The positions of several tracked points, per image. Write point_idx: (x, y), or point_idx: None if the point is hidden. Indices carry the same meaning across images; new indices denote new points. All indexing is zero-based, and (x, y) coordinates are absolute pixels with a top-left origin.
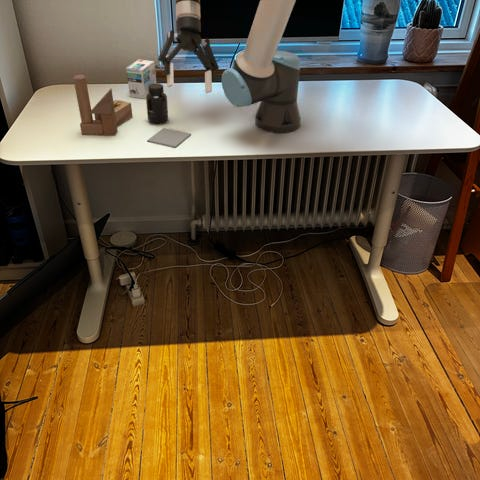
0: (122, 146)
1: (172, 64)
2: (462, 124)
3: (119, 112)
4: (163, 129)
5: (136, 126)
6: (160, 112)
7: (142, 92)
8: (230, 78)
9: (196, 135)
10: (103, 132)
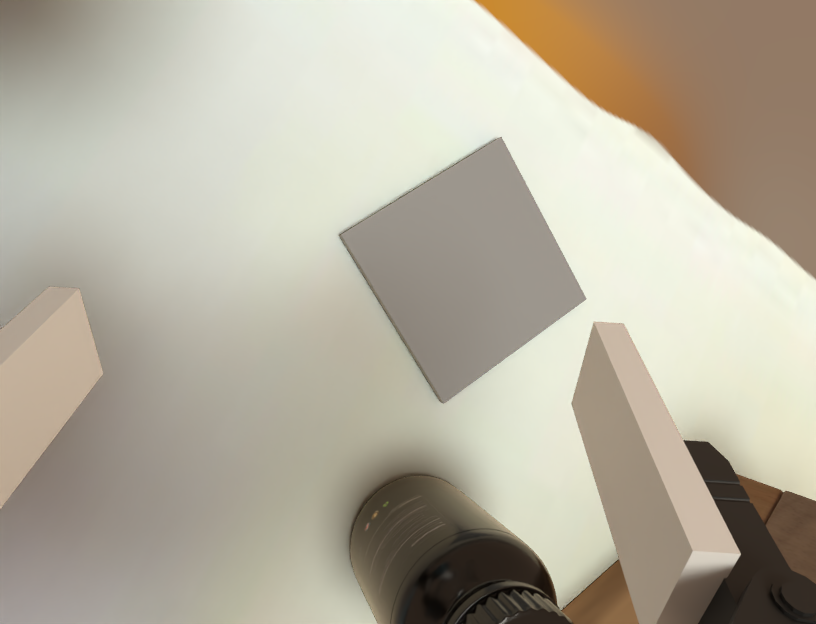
0: (690, 318)
1: (694, 532)
2: None
3: None
4: (454, 382)
5: (547, 514)
6: (452, 499)
7: None
8: None
9: (311, 210)
10: None
